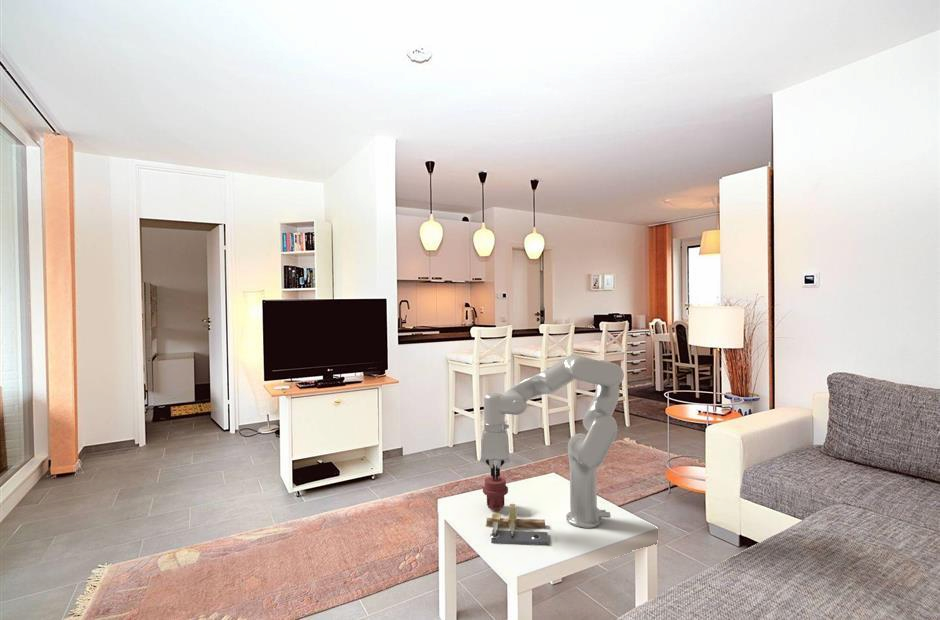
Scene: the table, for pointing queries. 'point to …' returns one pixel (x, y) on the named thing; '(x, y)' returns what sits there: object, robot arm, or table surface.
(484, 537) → the table surface
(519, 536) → the hole plate
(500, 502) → the mechanical component
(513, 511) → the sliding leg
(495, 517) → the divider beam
